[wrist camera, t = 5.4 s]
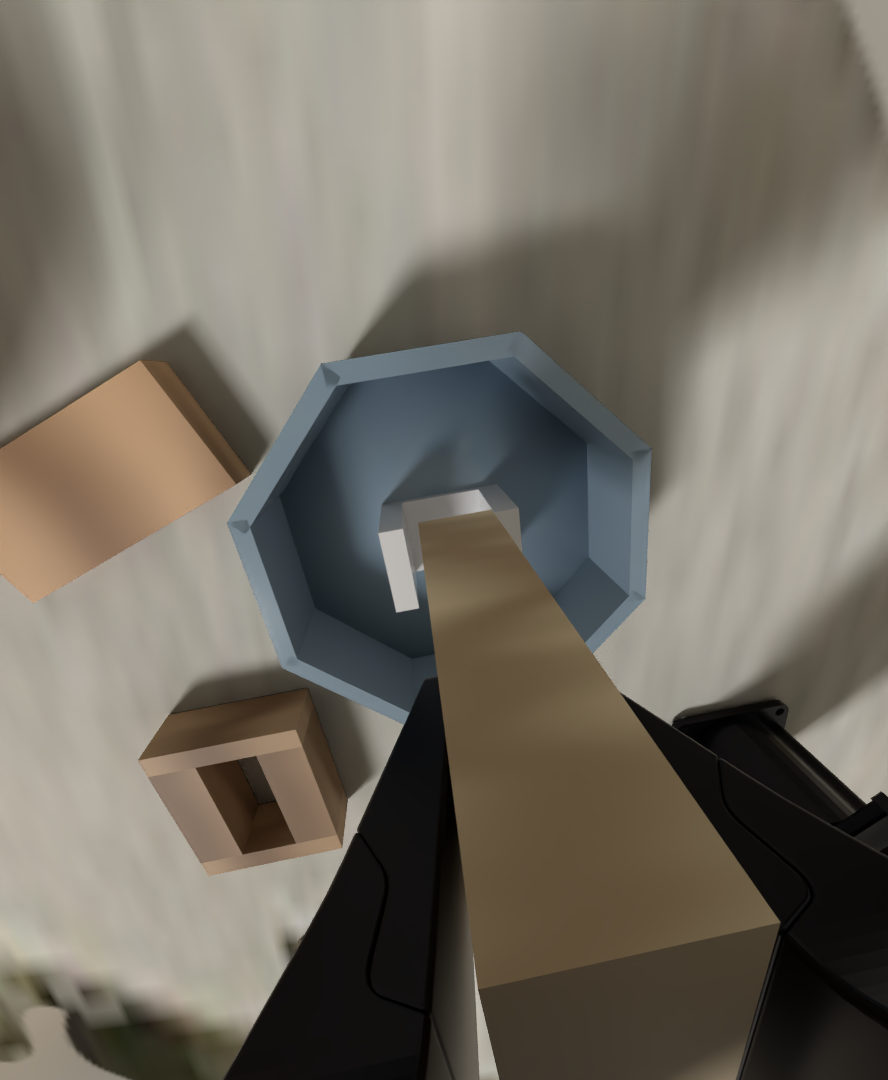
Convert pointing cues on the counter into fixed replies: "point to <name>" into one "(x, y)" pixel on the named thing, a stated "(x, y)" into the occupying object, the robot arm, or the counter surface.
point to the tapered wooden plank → (106, 476)
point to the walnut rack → (224, 794)
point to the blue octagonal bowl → (435, 505)
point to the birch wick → (579, 843)
